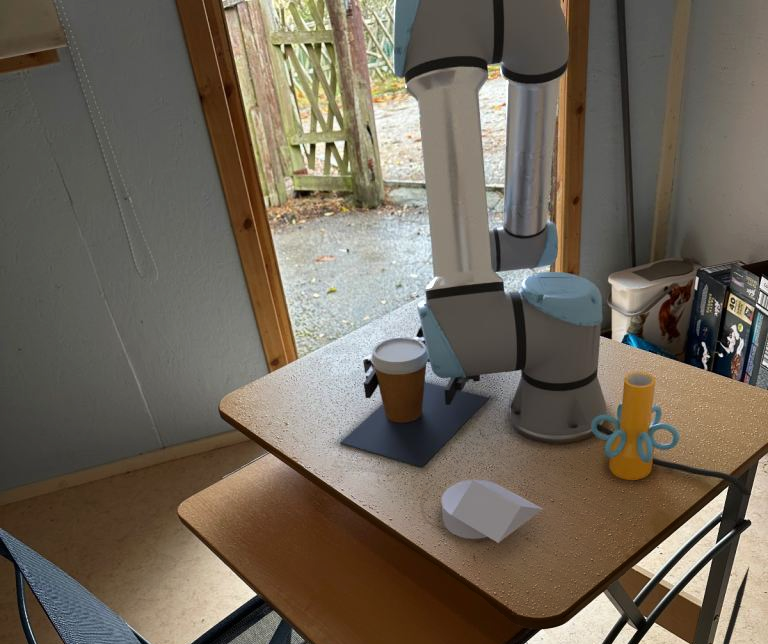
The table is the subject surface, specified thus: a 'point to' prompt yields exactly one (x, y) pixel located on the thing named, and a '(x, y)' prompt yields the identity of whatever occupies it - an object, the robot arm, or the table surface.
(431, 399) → the mat
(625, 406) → the yellow tube with rings
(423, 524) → the table surface
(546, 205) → the robot arm
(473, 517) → the wedge on round base
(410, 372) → the disposable coffee cup
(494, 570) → the table surface
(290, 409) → the table surface
